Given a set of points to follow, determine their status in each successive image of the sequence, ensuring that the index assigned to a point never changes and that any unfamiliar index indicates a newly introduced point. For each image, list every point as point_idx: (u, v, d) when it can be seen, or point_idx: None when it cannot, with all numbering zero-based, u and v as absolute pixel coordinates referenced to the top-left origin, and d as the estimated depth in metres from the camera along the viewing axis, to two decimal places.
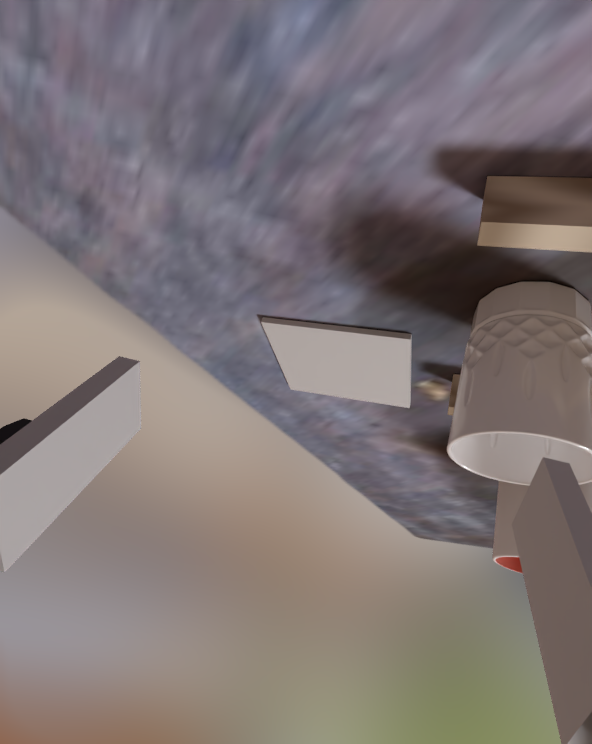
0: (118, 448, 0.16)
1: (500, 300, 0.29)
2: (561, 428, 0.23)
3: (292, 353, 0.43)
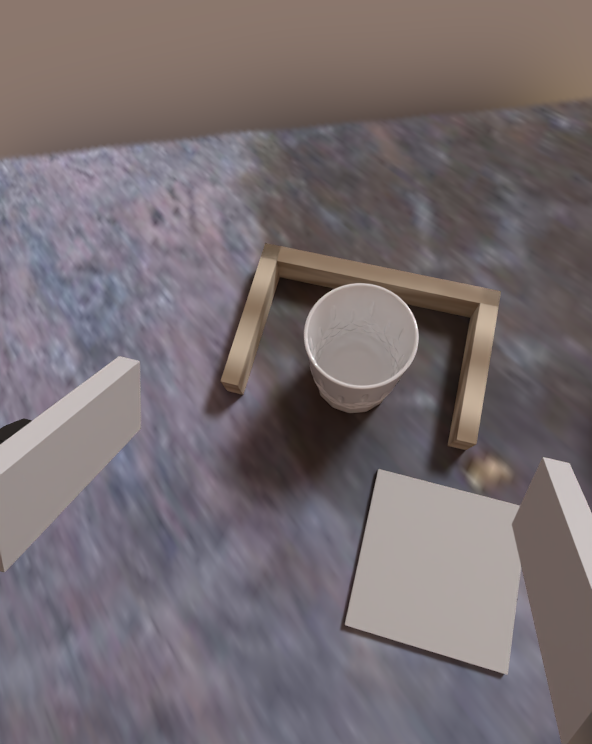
0: (118, 448, 0.16)
1: (318, 388, 0.42)
2: None
3: (408, 617, 0.37)
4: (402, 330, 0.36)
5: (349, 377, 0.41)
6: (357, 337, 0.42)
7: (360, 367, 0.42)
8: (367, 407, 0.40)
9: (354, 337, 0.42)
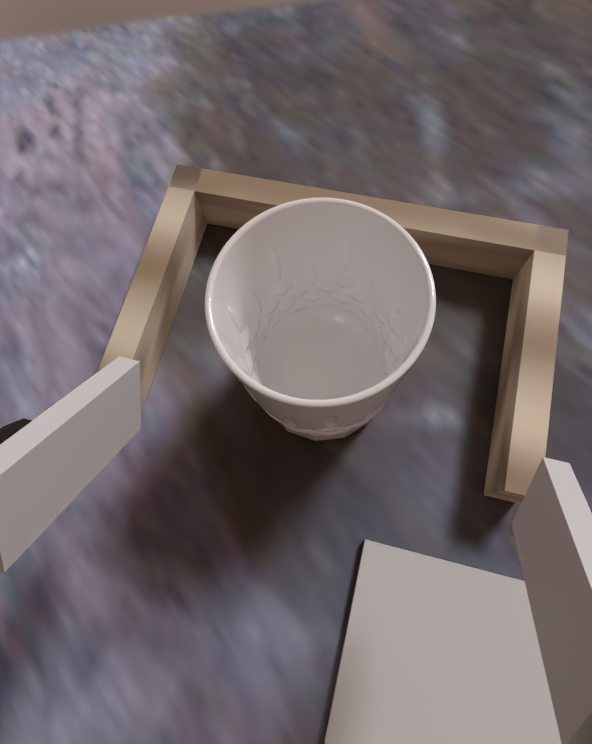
0: (118, 448, 0.16)
1: None
2: None
3: None
4: (402, 291, 0.19)
5: (313, 380, 0.24)
6: (326, 312, 0.25)
7: (332, 363, 0.25)
8: (344, 432, 0.23)
9: (321, 313, 0.25)
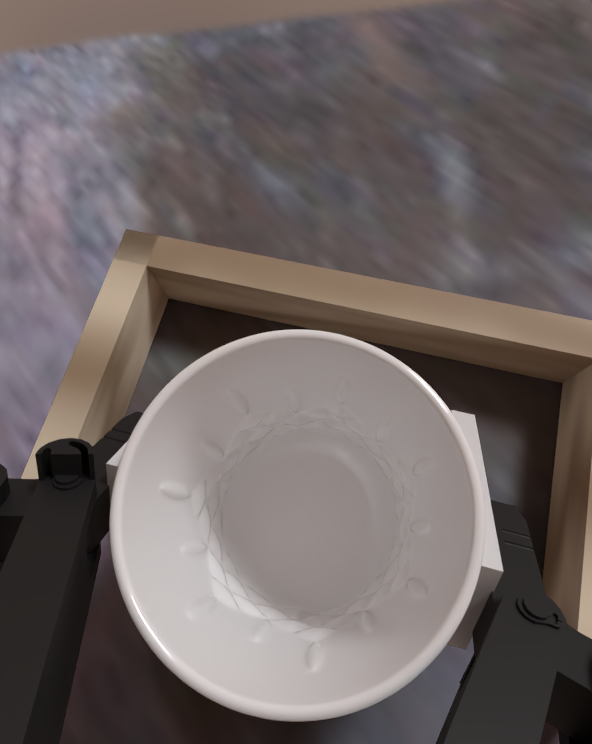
0: None
1: None
2: None
3: None
4: (425, 459, 0.13)
5: (297, 533, 0.18)
6: (316, 437, 0.18)
7: (323, 508, 0.18)
8: None
9: (310, 437, 0.18)
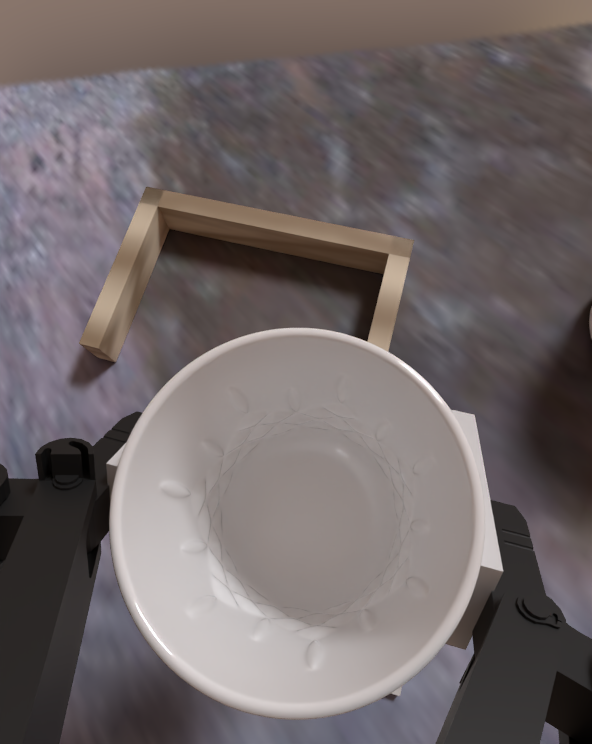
0: None
1: None
2: None
3: None
4: (425, 458, 0.13)
5: (297, 531, 0.18)
6: (316, 437, 0.18)
7: (323, 507, 0.18)
8: None
9: (310, 436, 0.18)
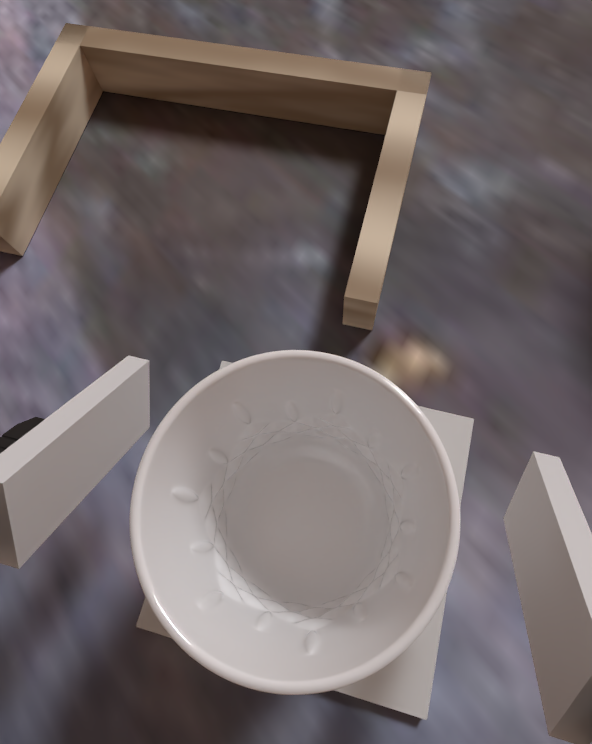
0: (128, 446, 0.16)
1: None
2: None
3: None
4: (410, 465, 0.14)
5: (296, 532, 0.19)
6: (313, 444, 0.20)
7: (320, 509, 0.19)
8: None
9: (307, 444, 0.20)
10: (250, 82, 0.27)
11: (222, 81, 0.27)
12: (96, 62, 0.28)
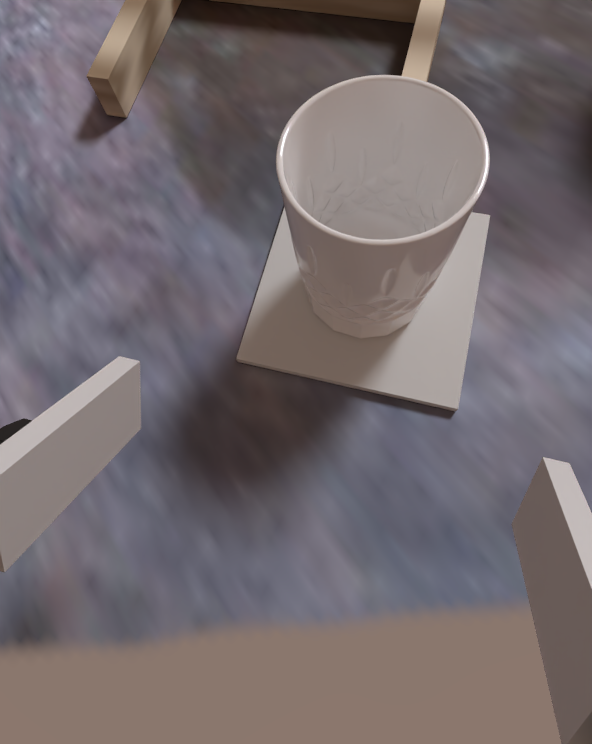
0: (118, 448, 0.16)
1: (310, 298, 0.26)
2: None
3: (323, 346, 0.27)
4: (452, 168, 0.21)
5: None
6: (371, 217, 0.26)
7: None
8: (390, 322, 0.25)
9: (366, 217, 0.26)
10: None
11: None
12: None
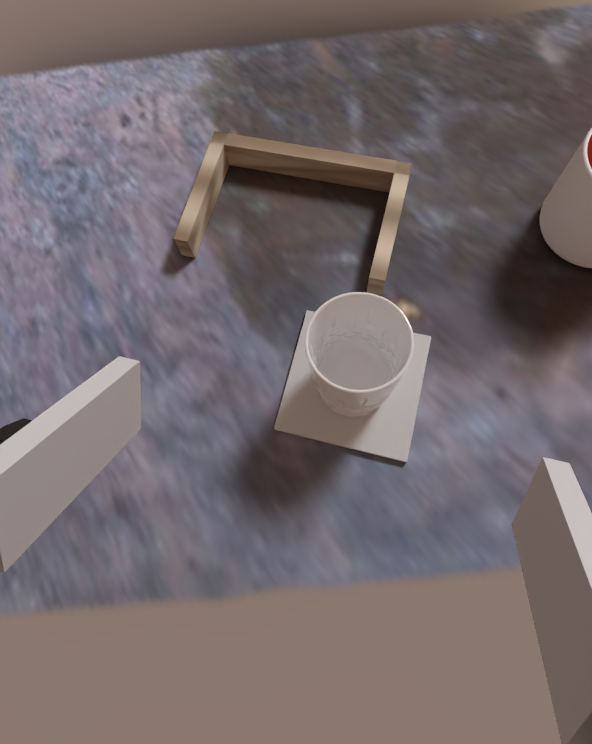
0: (118, 448, 0.16)
1: (319, 393, 0.43)
2: None
3: (327, 421, 0.44)
4: (399, 336, 0.38)
5: (349, 382, 0.43)
6: (356, 343, 0.43)
7: (359, 372, 0.43)
8: (366, 411, 0.42)
9: (353, 343, 0.43)
10: (316, 165, 0.51)
11: (301, 164, 0.51)
12: (230, 152, 0.52)
